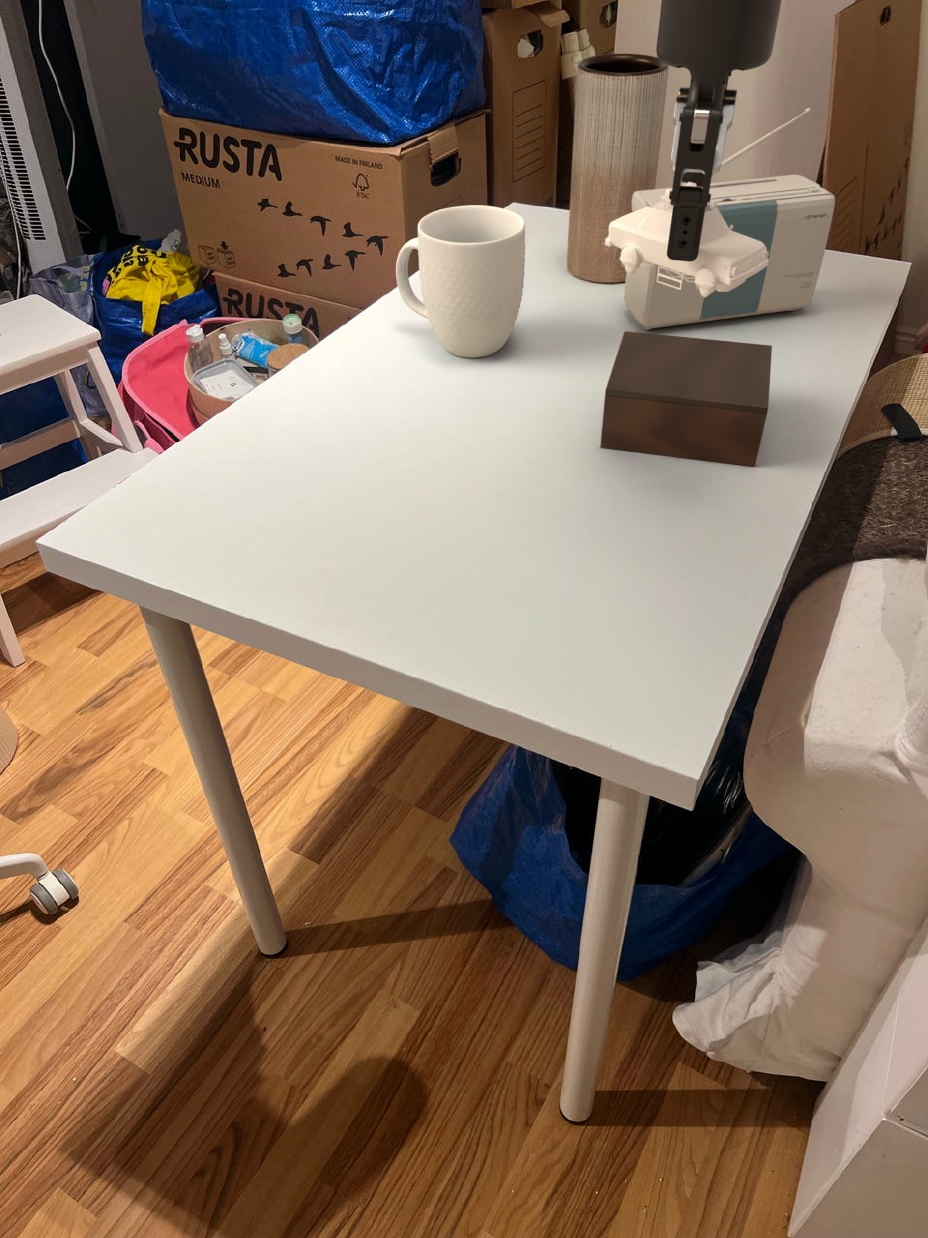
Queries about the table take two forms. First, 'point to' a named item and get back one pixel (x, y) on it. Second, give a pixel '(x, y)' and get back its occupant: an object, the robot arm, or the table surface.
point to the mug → (467, 276)
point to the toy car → (719, 254)
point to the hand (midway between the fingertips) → (685, 238)
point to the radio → (760, 209)
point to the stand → (687, 398)
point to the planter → (611, 154)
